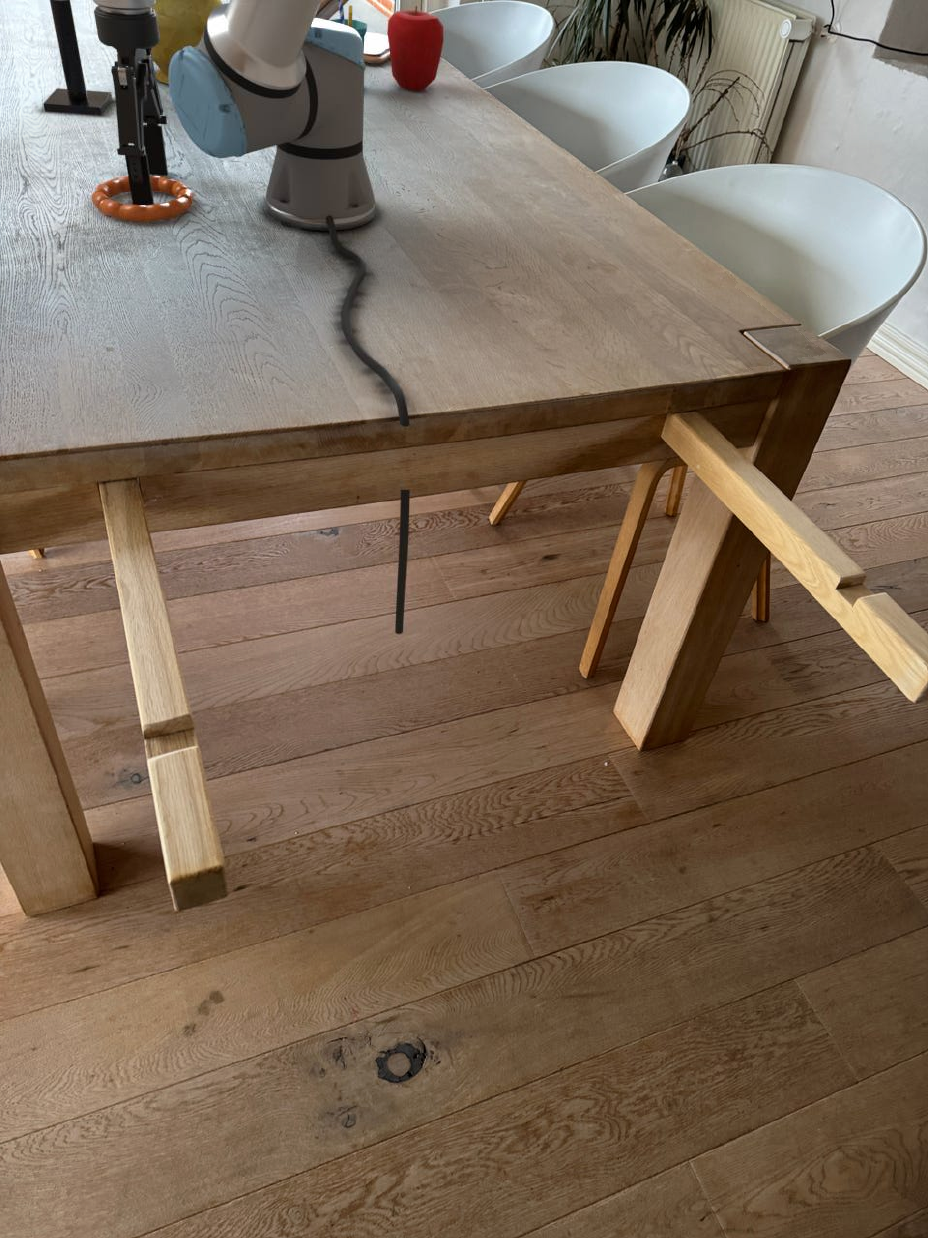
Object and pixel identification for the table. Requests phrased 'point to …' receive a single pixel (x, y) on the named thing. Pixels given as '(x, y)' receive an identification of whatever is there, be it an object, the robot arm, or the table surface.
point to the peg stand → (72, 70)
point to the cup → (351, 22)
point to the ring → (141, 211)
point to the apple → (414, 48)
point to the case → (374, 43)
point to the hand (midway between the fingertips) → (151, 189)
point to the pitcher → (179, 29)
